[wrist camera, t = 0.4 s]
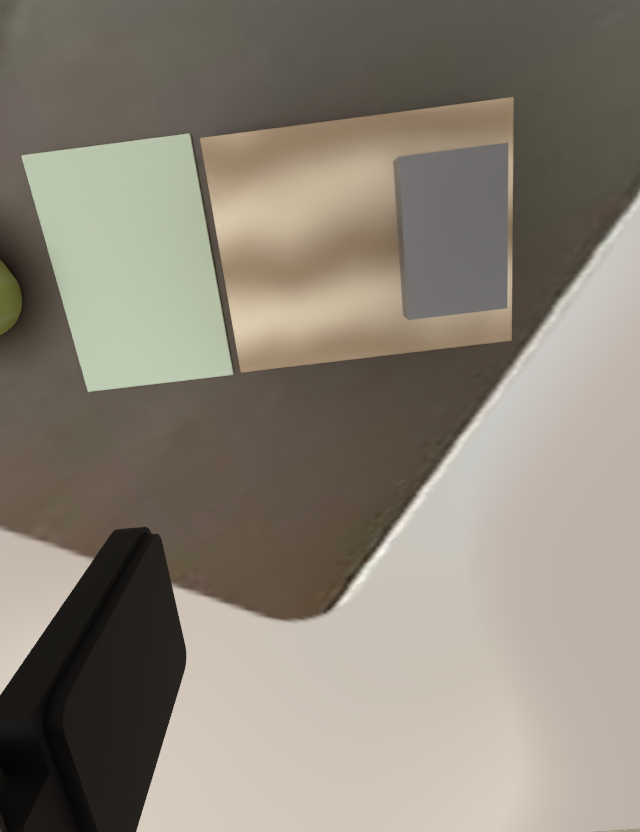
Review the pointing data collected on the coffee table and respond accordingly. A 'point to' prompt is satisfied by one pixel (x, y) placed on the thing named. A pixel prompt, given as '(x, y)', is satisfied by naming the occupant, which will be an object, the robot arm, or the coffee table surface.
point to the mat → (132, 260)
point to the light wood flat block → (336, 235)
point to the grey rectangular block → (453, 230)
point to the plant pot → (9, 299)
